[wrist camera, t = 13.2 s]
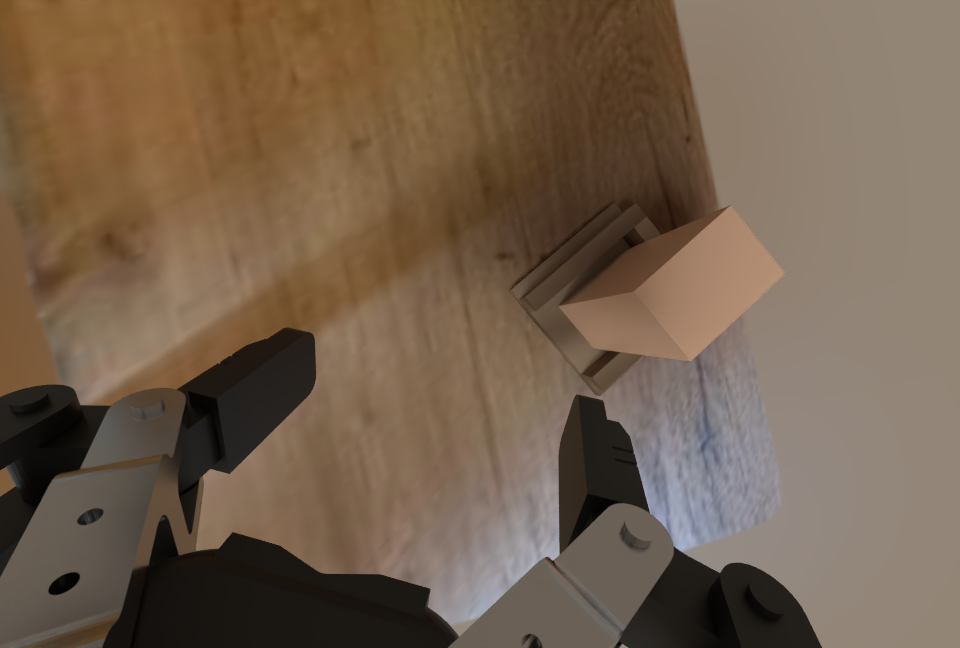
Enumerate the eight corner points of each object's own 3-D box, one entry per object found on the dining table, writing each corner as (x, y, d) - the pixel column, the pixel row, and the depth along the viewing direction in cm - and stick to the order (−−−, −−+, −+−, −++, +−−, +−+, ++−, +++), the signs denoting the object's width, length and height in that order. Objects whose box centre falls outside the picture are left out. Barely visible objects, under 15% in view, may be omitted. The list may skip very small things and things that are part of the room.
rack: (508, 291, 28) (516, 286, 25) (608, 206, 29) (627, 192, 26) (594, 393, 29) (611, 401, 26) (690, 307, 30) (717, 305, 27)
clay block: (558, 306, 28) (633, 291, 17) (619, 253, 28) (730, 205, 17) (593, 348, 28) (690, 361, 17) (653, 294, 28) (785, 273, 17)
